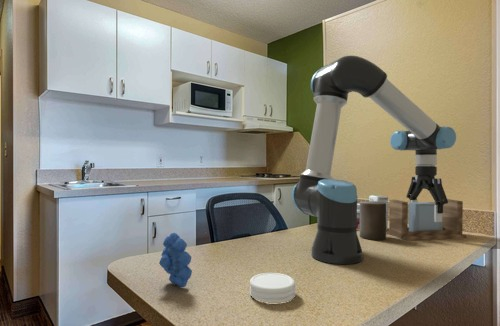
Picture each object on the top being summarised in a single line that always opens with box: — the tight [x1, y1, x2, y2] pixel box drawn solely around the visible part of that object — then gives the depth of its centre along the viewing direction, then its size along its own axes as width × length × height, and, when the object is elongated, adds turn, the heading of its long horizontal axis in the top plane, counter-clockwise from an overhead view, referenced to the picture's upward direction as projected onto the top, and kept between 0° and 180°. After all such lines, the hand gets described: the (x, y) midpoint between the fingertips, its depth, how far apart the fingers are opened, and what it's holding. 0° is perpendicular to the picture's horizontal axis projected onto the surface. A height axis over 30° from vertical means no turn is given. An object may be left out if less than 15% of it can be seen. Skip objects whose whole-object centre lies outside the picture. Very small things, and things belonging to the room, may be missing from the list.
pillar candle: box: [359, 200, 387, 241], centre depth 123 cm, size 10×10×15 cm
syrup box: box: [368, 194, 389, 231], centre depth 138 cm, size 6×6×14 cm
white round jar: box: [249, 272, 296, 303], centre depth 69 cm, size 10×10×4 cm
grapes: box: [158, 232, 193, 288], centre depth 74 cm, size 12×7×12 cm, turn 41°
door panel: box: [408, 201, 443, 231], centre depth 127 cm, size 12×4×12 cm, turn 99°
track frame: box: [386, 198, 467, 241], centre depth 127 cm, size 26×12×14 cm, turn 99°
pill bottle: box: [357, 203, 360, 232], centre depth 137 cm, size 6×6×11 cm
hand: (425, 218), depth 127 cm, fingers open, 13 cm apart
